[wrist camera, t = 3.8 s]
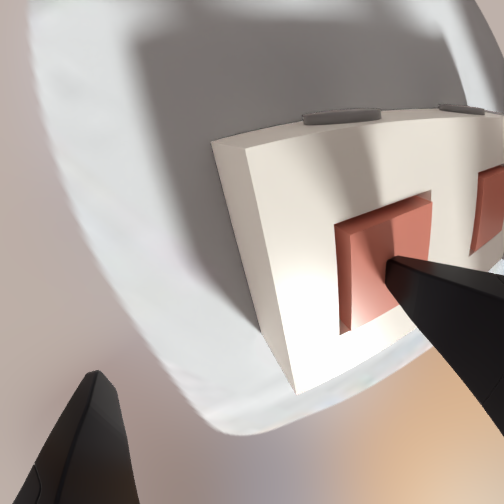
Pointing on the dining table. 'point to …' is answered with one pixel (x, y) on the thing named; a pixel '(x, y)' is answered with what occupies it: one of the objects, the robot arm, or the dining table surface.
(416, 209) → the outer button
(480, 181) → the inner button
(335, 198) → the switch panel
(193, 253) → the dining table surface
